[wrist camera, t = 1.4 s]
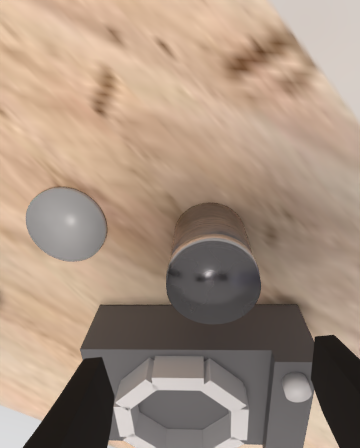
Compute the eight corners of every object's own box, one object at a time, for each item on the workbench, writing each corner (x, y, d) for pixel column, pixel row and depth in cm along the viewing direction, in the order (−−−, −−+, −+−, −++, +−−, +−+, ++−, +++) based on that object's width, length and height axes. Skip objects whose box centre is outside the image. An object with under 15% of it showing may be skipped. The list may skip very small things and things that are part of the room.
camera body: (297, 304, 21) (329, 375, 16) (285, 392, 25) (308, 472, 20) (99, 305, 22) (69, 371, 17) (117, 389, 26) (96, 464, 21)
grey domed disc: (101, 183, 18) (97, 187, 18) (113, 254, 20) (110, 260, 20) (23, 186, 19) (16, 190, 18) (42, 255, 21) (37, 262, 20)
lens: (246, 200, 18) (265, 245, 13) (244, 264, 20) (259, 325, 15) (171, 203, 18) (161, 247, 13) (175, 266, 20) (168, 325, 15)
